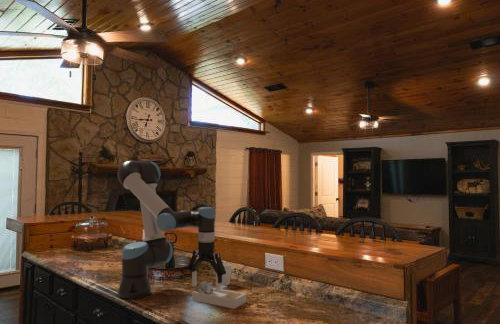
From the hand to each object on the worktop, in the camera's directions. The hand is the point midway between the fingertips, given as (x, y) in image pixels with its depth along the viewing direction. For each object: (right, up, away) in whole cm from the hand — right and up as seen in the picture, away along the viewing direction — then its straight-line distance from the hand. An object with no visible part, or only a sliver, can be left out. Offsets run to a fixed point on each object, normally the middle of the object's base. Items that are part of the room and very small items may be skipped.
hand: (206, 287), depth 172 cm
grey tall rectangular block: (+6, -5, +9) cm, 12 cm away
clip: (0, -2, 0) cm, 2 cm away
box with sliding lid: (+6, -5, -4) cm, 9 cm away
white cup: (+6, -6, +23) cm, 24 cm away
